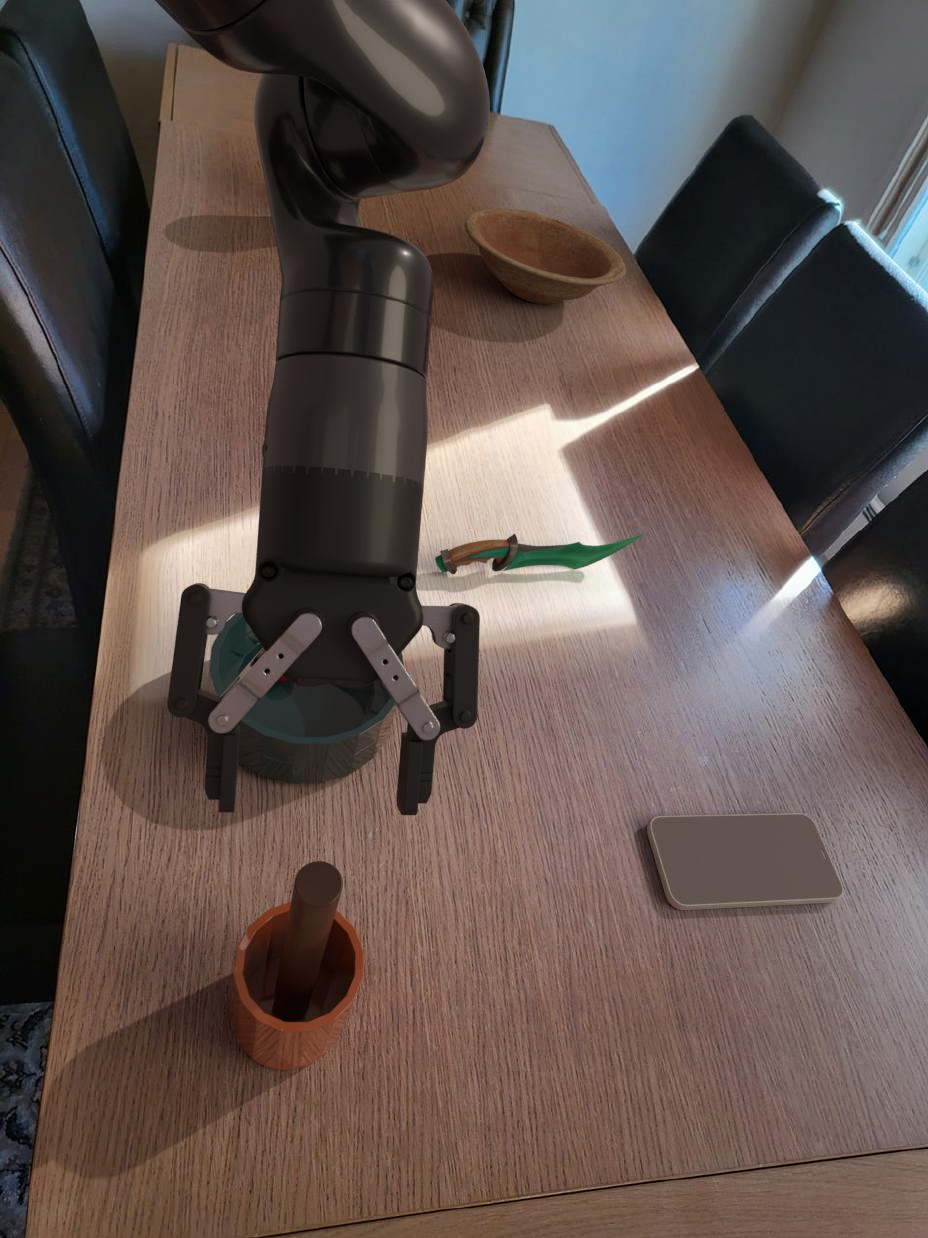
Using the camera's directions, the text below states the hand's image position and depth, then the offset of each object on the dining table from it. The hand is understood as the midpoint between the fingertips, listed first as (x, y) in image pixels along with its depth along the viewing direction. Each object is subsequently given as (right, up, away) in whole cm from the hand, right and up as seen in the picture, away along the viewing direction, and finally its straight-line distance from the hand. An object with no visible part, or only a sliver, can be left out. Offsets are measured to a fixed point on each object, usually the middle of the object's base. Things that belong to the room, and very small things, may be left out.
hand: (319, 809), depth 40 cm
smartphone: (+29, -10, +26) cm, 40 cm away
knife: (+14, +14, +43) cm, 47 cm away
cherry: (-8, +5, +26) cm, 28 cm away
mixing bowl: (-6, +2, +26) cm, 27 cm away
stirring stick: (-4, -15, +11) cm, 19 cm away
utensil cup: (-4, -15, +11) cm, 19 cm away
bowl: (+17, +58, +83) cm, 102 cm away
